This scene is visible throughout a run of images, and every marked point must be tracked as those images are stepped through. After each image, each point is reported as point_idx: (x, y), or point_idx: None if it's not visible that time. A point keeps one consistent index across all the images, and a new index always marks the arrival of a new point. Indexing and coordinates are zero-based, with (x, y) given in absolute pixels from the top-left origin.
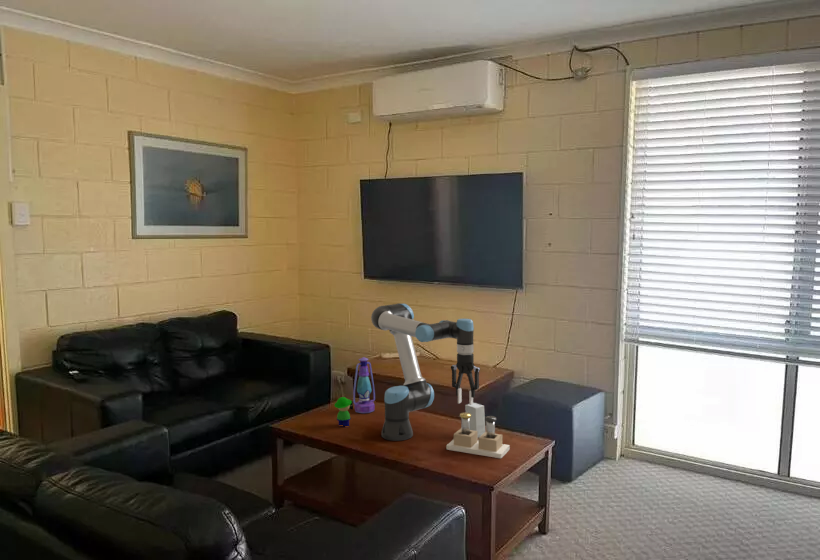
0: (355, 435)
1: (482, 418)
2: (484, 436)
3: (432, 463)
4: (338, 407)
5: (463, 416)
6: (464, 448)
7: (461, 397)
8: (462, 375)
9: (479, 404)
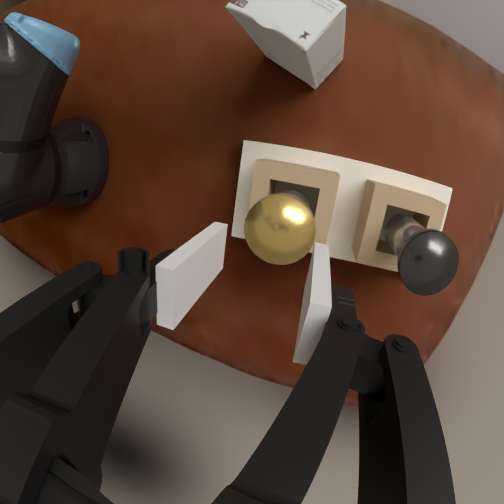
0: None
1: (336, 43)
2: (378, 237)
3: (229, 337)
4: None
5: (274, 262)
6: None
7: (214, 237)
8: (82, 408)
9: None
